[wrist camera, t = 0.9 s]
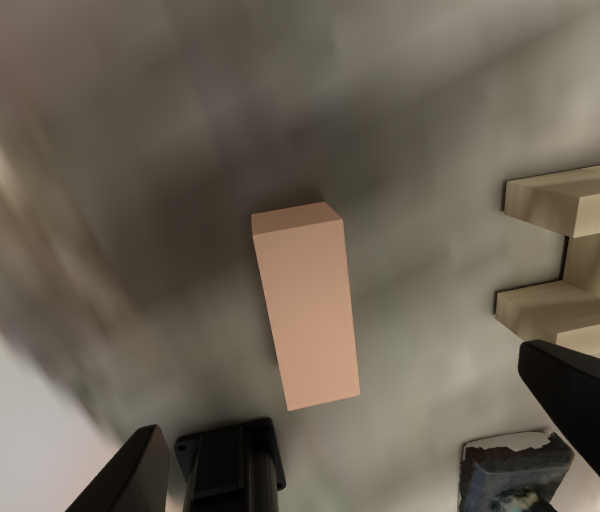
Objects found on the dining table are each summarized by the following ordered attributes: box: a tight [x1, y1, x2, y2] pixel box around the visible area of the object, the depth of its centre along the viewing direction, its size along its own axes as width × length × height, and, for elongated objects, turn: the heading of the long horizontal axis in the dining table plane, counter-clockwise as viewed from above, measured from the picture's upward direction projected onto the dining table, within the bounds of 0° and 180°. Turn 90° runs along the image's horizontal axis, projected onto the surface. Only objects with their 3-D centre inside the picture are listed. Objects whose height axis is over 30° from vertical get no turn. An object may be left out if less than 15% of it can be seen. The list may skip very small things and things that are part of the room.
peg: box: [251, 202, 360, 411], centre depth 19 cm, size 4×10×4 cm, turn 8°
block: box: [495, 165, 600, 355], centre depth 19 cm, size 9×7×5 cm
